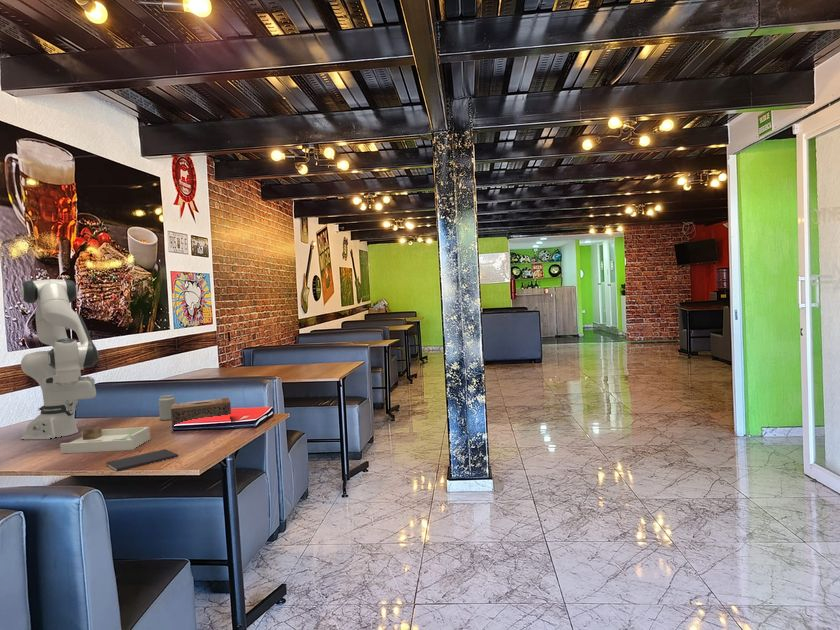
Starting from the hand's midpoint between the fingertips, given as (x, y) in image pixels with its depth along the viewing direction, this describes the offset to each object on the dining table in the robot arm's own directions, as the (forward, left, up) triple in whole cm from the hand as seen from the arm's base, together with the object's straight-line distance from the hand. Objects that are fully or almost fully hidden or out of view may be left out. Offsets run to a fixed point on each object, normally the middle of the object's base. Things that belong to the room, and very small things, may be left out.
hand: (71, 410), depth 236 cm
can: (+20, +47, -15) cm, 53 cm away
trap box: (+16, -4, -15) cm, 22 cm away
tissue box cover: (+42, +33, -16) cm, 55 cm away
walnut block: (+8, 0, -12) cm, 14 cm away
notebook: (+42, -29, -16) cm, 53 cm away
